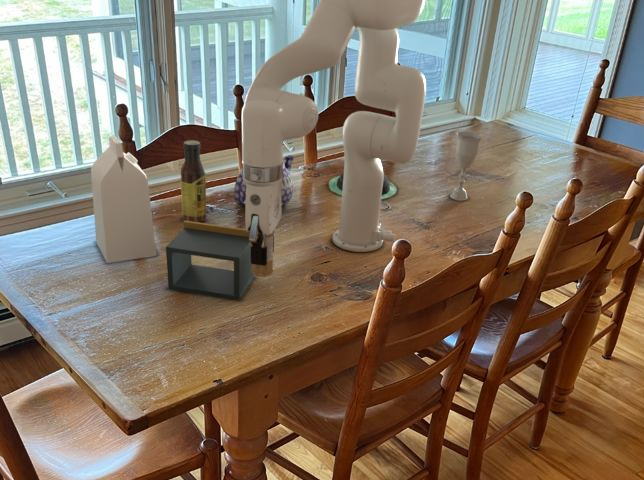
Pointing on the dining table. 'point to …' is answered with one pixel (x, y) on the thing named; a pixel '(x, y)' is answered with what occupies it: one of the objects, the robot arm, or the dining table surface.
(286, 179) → the teapot
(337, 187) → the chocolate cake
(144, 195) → the milk
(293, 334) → the dining table surface
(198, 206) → the sauce bottle
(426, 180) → the dining table surface
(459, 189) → the chalice
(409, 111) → the robot arm
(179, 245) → the shelf
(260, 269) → the sprinkles bottle
